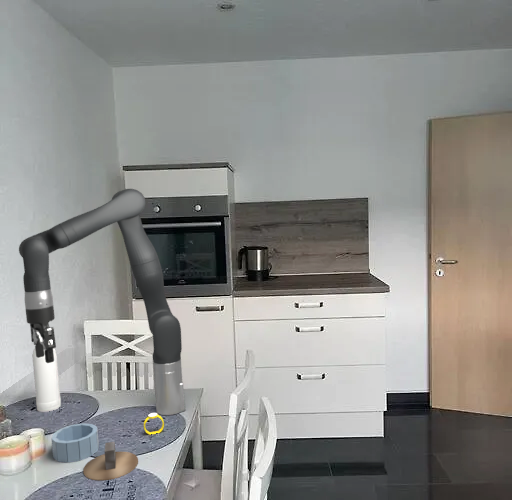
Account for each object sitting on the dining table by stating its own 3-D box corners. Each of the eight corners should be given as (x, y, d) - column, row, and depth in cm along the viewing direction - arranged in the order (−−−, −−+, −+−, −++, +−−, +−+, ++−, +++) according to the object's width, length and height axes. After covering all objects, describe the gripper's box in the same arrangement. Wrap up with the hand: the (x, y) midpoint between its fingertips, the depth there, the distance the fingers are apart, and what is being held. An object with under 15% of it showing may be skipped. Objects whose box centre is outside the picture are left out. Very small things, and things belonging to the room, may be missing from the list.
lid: (138, 450, 140) (136, 431, 139) (138, 476, 126) (137, 454, 126) (86, 459, 136) (84, 439, 136) (81, 486, 123) (79, 463, 122)
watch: (145, 437, 147) (142, 418, 147) (144, 434, 150) (141, 415, 149) (165, 432, 149) (162, 414, 148) (164, 429, 152) (161, 410, 151)
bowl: (99, 438, 148) (98, 421, 147) (97, 457, 136) (95, 438, 135) (57, 445, 145) (55, 427, 144) (50, 465, 133) (48, 445, 133)
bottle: (58, 411, 171) (50, 325, 168) (34, 413, 169) (26, 328, 167) (63, 402, 178) (56, 320, 176) (40, 404, 177) (33, 322, 175)
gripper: (61, 305, 141) (66, 361, 143) (44, 300, 152) (49, 352, 153) (33, 310, 136) (39, 367, 138) (18, 305, 147) (24, 358, 149)
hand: (45, 359), depth 146 cm, fingers open, 8 cm apart
